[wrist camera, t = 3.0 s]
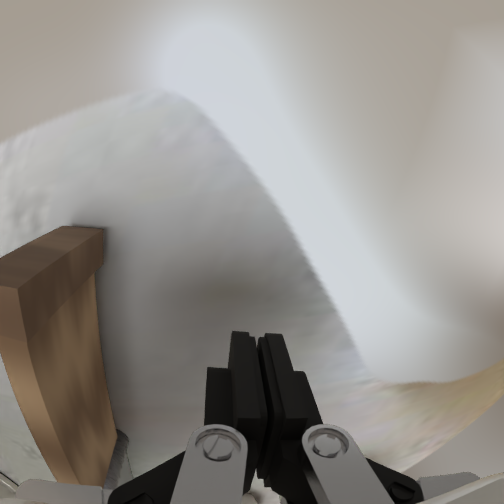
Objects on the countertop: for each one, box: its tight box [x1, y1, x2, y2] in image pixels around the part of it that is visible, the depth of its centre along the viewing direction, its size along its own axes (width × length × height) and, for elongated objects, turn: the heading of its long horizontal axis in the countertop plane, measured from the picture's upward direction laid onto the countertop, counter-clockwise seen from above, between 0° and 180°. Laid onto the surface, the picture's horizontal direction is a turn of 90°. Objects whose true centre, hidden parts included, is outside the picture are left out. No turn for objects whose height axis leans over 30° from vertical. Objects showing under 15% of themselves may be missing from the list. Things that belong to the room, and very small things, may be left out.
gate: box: [0, 226, 117, 489], centre depth 12 cm, size 15×2×8 cm, turn 173°
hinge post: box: [103, 429, 129, 490], centre depth 15 cm, size 2×2×10 cm
